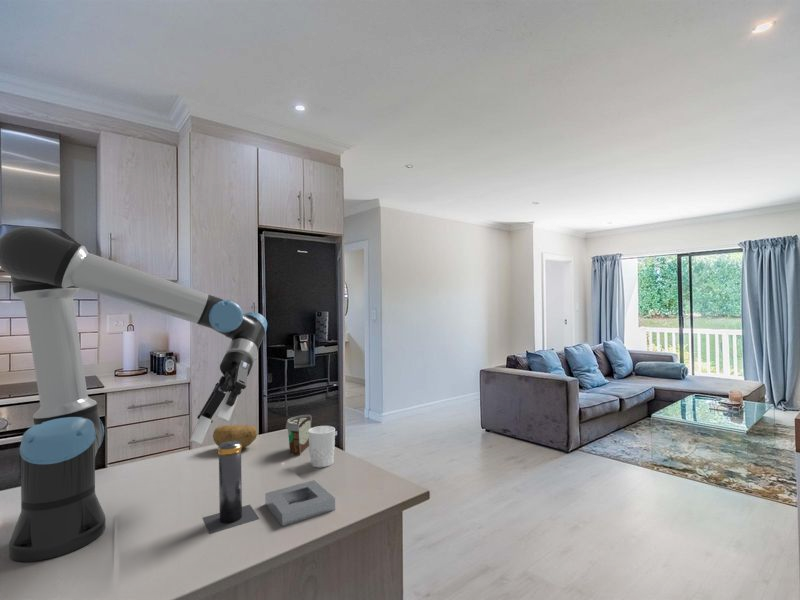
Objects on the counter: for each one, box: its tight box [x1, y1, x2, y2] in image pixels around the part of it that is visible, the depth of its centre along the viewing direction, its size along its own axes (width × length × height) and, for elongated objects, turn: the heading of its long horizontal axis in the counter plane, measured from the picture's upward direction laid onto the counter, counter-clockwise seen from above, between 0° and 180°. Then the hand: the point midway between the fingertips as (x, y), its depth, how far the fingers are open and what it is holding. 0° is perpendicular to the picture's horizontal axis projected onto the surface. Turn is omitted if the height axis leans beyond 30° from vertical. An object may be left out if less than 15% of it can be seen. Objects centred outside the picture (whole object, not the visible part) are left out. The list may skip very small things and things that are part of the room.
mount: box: [202, 504, 260, 535], centre depth 90 cm, size 10×8×1 cm
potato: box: [212, 424, 258, 449], centre depth 137 cm, size 10×14×8 cm
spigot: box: [217, 441, 243, 524], centre depth 90 cm, size 5×5×16 cm
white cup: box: [308, 425, 336, 468], centre depth 123 cm, size 8×8×10 cm
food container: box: [285, 414, 313, 456], centre depth 135 cm, size 12×6×10 cm, turn 172°
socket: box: [264, 479, 336, 527], centre depth 94 cm, size 12×12×4 cm
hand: (208, 431), depth 93 cm, fingers open, 13 cm apart
